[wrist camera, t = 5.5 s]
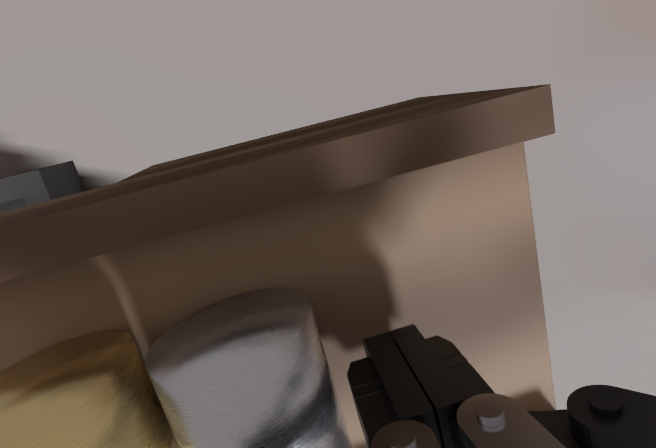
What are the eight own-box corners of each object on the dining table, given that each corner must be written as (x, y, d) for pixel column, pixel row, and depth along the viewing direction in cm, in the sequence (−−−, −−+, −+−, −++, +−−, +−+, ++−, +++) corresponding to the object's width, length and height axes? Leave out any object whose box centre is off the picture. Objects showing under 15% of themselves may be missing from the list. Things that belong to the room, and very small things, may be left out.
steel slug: (328, 279, 12) (199, 297, 13) (277, 374, 8) (106, 387, 10) (370, 431, 13) (250, 435, 15) (343, 571, 10) (185, 560, 11)
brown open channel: (33, 196, 19) (-182, 274, 10) (419, 97, 20) (550, 84, 11) (133, 430, 22) (43, 656, 13) (461, 332, 23) (590, 473, 14)
